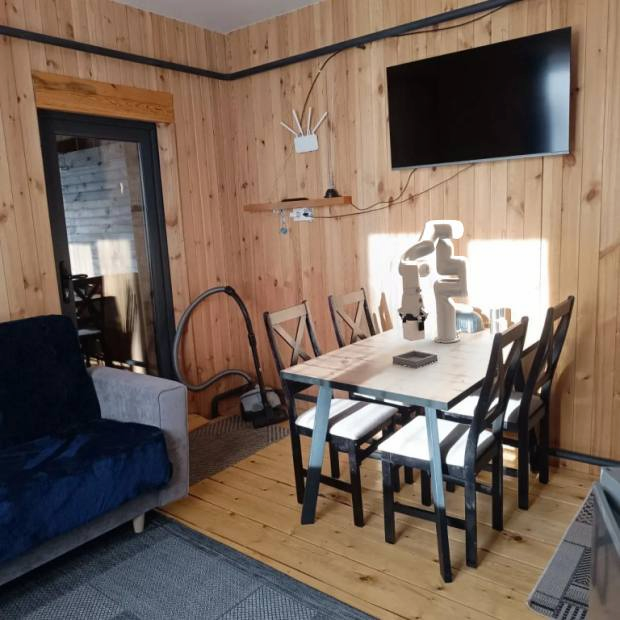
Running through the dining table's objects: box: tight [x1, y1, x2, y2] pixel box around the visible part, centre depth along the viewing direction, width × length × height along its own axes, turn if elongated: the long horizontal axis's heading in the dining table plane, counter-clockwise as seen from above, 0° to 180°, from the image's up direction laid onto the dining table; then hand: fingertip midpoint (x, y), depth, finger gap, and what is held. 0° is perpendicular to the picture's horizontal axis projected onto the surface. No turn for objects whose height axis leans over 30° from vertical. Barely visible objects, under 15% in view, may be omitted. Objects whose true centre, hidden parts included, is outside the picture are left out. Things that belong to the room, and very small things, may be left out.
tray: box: [392, 349, 439, 369], centre depth 262 cm, size 14×14×3 cm
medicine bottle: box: [402, 313, 426, 342], centre depth 259 cm, size 7×7×12 cm
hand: (413, 329), depth 259 cm, fingers closed on medicine bottle, 8 cm apart
